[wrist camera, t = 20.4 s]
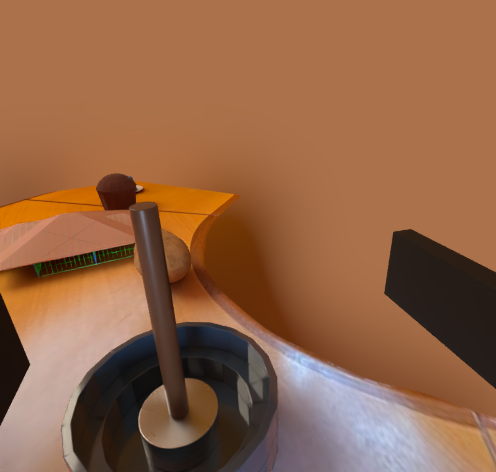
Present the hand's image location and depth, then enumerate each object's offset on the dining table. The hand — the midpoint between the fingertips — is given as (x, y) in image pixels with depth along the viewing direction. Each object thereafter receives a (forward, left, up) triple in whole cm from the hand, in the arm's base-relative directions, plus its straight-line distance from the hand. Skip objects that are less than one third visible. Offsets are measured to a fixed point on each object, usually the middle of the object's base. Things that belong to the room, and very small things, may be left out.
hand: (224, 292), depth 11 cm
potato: (+38, -21, -23) cm, 49 cm away
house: (+65, -16, -23) cm, 70 cm away
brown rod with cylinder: (+12, -4, -22) cm, 25 cm away
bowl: (+12, -4, -23) cm, 26 cm away
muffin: (+84, -38, -23) cm, 95 cm away
